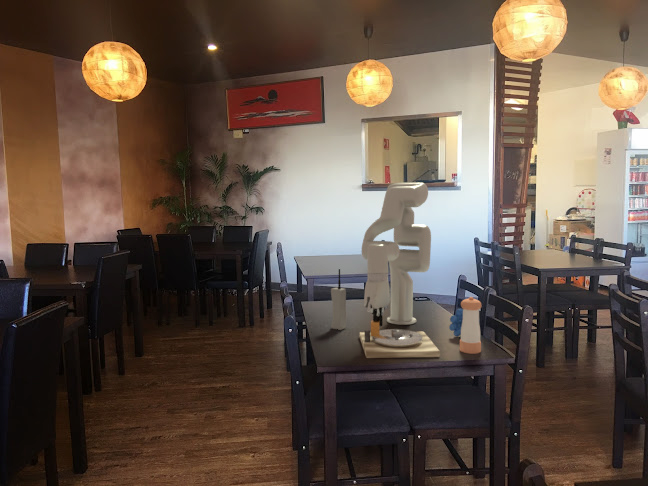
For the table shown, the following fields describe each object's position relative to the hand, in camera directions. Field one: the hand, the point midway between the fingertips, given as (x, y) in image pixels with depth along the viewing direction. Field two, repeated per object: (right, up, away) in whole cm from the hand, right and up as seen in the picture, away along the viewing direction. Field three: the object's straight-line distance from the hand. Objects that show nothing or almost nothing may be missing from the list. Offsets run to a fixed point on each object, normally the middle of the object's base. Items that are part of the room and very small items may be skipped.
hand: (377, 325), depth 188 cm
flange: (+6, -4, -4) cm, 9 cm away
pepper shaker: (+32, -8, -10) cm, 34 cm away
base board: (+7, -7, -4) cm, 10 cm away
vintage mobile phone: (-14, -5, +21) cm, 26 cm away
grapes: (+34, -6, +8) cm, 36 cm away
